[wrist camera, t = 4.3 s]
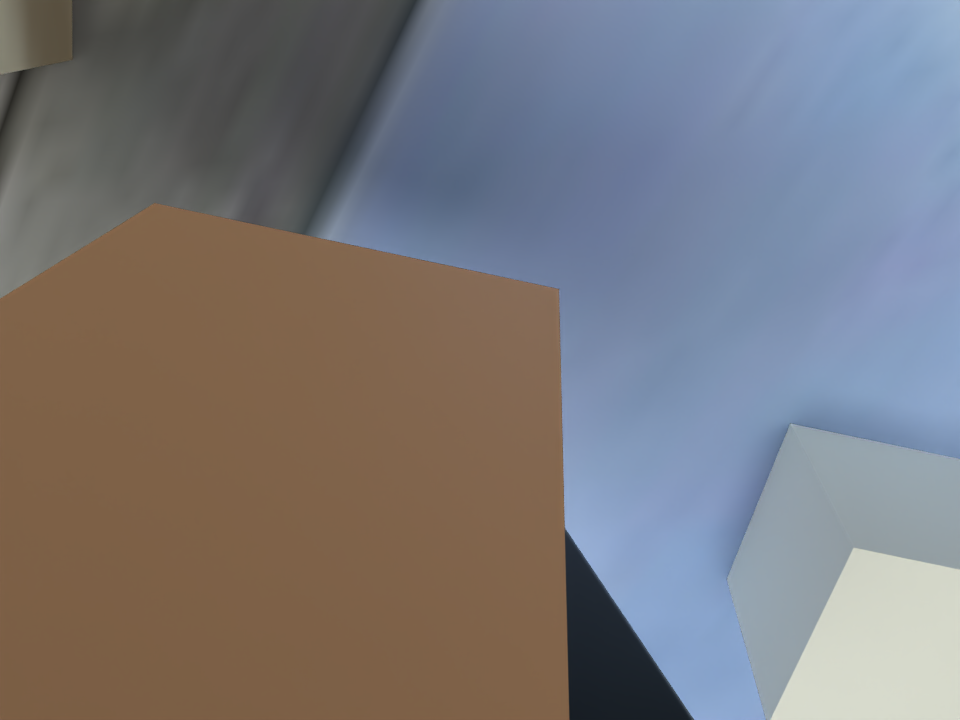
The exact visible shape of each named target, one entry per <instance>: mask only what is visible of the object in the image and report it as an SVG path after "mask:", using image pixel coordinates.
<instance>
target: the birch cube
mask: <svg viewBox="0 0 960 720" xmlns="http://www.w3.org/2000/svg"><path fill="white" fill-rule="evenodd" d="M69 60H73V51H72V0H0V75H1V74H6V73H11V72H16V71H21V70H26V69H31V68H35V67H40V66H45V65H50V64H55V63H60V62H64V61H69Z"/></svg>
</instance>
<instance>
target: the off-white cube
mask: <svg viewBox="0 0 960 720" xmlns="http://www.w3.org/2000/svg"><path fill="white" fill-rule="evenodd" d="M727 582H728V586H729V589H730V593H731V596H732V600H733V603H734V607H735V611H736V614H737V618H738V621H739V625H740V628H741V632H742V636H743V639H744V643H745V646H746V650H747V653H748V657H749V661H750V664H751V668H752V671H753V675H754V678H755V682H756V686H757V689H758V693H759V696H760V700H761V703H762V707H763V711H764V714H765V718H766V720H960V459H958V458H953V457H948V456H943V455H939V454H934V453H929V452H924V451H920V450H915V449H910V448H905V447H901V446H896V445H891V444H886V443H882V442H877V441H872V440H867V439H862V438H858V437H853V436H848V435H843V434H839V433H834V432H829V431H824V430H820V429H815V428H810V427H805V426H800V425H796V424H791V423H790V425H789V428H788V430H787V433H786V435H785V437H784V440H783V442H782V445H781V447H780V450H779V452H778V455H777V457H776V459H775V462H774V464H773V467H772V469H771V472H770V474H769V477H768V479H767V481H766V484H765V486H764V489H763V491H762V494H761V496H760V499H759V501H758V503H757V506H756V508H755V511H754V513H753V516H752V518H751V521H750V523H749V525H748V528H747V530H746V533H745V535H744V538H743V540H742V543H741V545H740V548H739V550H738V552H737V555H736V557H735V560H734V562H733V565H732V567H731V570H730V572H729V574H728V577H727Z"/></svg>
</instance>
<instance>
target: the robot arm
mask: <svg viewBox="0 0 960 720" xmlns="http://www.w3.org/2000/svg"><path fill="white" fill-rule="evenodd" d="M565 563H566V605H567V646H568V688H569V720H694V719H693V718H692V716H691V715H690V713H689V712H688V710H687V709H686V707H685V706H684V704H683V703H682V701H681V700H680V698H679V697H678V695H677V694H676V692H675V691H674V689H673V688H672V687H671V685H670V684H669V682H668V681H667V679H666V678H665V676H664V675H663V673H662V672H661V670H660V669H659V667H658V666H657V664H656V663H655V661H654V660H653V658H652V657H651V655H650V654H649V652H648V651H647V649H646V648H645V646H644V645H643V643H642V642H641V640H640V639H639V637H638V636H637V634H636V633H635V632H634V630H633V629H632V627H631V626H630V624H629V623H628V621H627V620H626V618H625V617H624V615H623V614H622V612H621V611H620V609H619V608H618V606H617V605H616V603H615V602H614V600H613V599H612V597H611V596H610V594H609V593H608V591H607V590H606V588H605V587H604V585H603V584H602V582H601V581H600V579H599V578H598V577H597V575H596V574H595V572H594V571H593V569H592V568H591V566H590V565H589V563H588V562H587V560H586V559H585V557H584V556H583V554H582V553H581V551H580V550H579V548H578V547H577V545H576V544H575V542H574V541H573V539H572V538H571V536H570V535H569V533H568V532H567V530H566V529H565Z"/></svg>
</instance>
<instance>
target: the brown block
mask: <svg viewBox="0 0 960 720" xmlns="http://www.w3.org/2000/svg"><path fill="white" fill-rule="evenodd" d="M0 720H569V688H568V646H567V605H566V563H565V521H564V480H563V438H562V396H561V355H560V313H559V289H556V288H552V287H547V286H542V285H538V284H533V283H528V282H523V281H519V280H514V279H509V278H505V277H500V276H495V275H490V274H486V273H481V272H476V271H472V270H467V269H462V268H457V267H453V266H448V265H443V264H439V263H434V262H429V261H424V260H420V259H415V258H410V257H406V256H401V255H396V254H391V253H387V252H382V251H377V250H373V249H368V248H363V247H359V246H354V245H349V244H344V243H340V242H335V241H330V240H326V239H321V238H316V237H311V236H307V235H302V234H297V233H293V232H288V231H283V230H278V229H274V228H269V227H264V226H260V225H255V224H250V223H245V222H241V221H236V220H231V219H227V218H222V217H217V216H213V215H208V214H203V213H198V212H194V211H189V210H184V209H180V208H175V207H170V206H165V205H161V204H156V203H154V204H152V205H151V206H149V207H148V208H146V209H144V210H143V211H141V212H140V213H138V214H136V215H135V216H133V217H131V218H130V219H128V220H127V221H125V222H123V223H122V224H120V225H119V226H117V227H115V228H114V229H112V230H110V231H109V232H107V233H106V234H104V235H102V236H101V237H99V238H98V239H96V240H94V241H93V242H91V243H89V244H88V245H86V246H85V247H83V248H81V249H80V250H78V251H77V252H75V253H73V254H72V255H70V256H68V257H67V258H65V259H64V260H62V261H60V262H59V263H57V264H56V265H54V266H52V267H51V268H49V269H47V270H46V271H44V272H43V273H41V274H39V275H38V276H36V277H35V278H33V279H31V280H30V281H28V282H26V283H25V284H23V285H22V286H20V287H18V288H17V289H15V290H14V291H12V292H10V293H9V294H7V295H5V296H4V297H2V298H1V299H0Z"/></svg>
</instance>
